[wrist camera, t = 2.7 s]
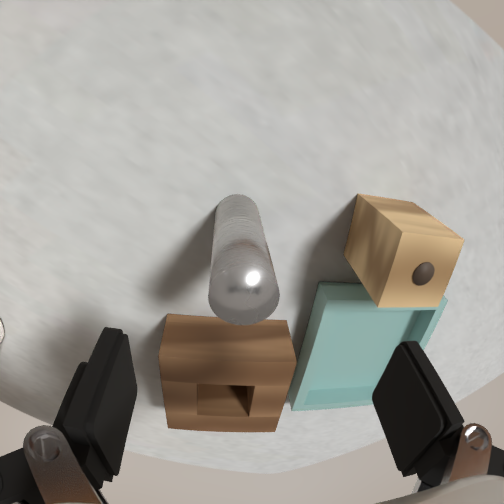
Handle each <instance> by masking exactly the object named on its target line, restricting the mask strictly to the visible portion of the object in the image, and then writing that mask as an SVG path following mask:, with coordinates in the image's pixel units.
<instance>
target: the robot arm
mask: <svg viewBox="0 0 504 504" xmlns="http://www.w3.org/2000/svg"><path fill="white" fill-rule="evenodd" d="M136 397H137V384H136V379H135V374H134V368H133V363H132V357H131V352H130V346H129V340H128V335H127V334H123V331H122V330H121V329H115V328H108V327H105V328H104V329H103V331H102V333H101V335H100V338H99V340H98V342H97V344H96V346H95V348H94V350H93V353H92V355H91V357H90V359H89V362H88V363H87V362H81V363H80V364H79V366H78V368H77V370H76V372H75V374H74V376H73V379H72V381H71V383H70V385H69V388H68V390H67V392H66V395H65V397H64V399H63V402H62V404H61V406H60V409H59V411H58V414H57V416H56V419H55V421H54V424H53V426H52V427H51V426H45V425H43V426H38V427H35V428H33V429H31V430H30V431H29V433H27V435H26V437H25V438H24V443H23V448H21V449H18V450H16V451H14V452H11V453H9V454H6V455H4V456H1V457H0V504H109V503H108V502H107V500H106V499H105V497H104V496H103V494H102V492H101V491H100V489H101V488H102V486H103V481H109V482H112V479H113V475H115V476H117V475H118V474H119V470H120V466H121V461H122V456H123V452H124V447H125V443H126V438H127V434H128V430H129V425H130V421H131V417H132V413H133V409H134V405H135V401H136ZM372 401H373V404H374V407H375V409H376V412H377V415H378V417H379V420H380V422H381V425H382V428H383V430H384V433H385V436H386V439H387V441H388V444H389V447H390V449H391V452H392V455H393V458H394V460H395V463H396V466H397V468H398V470H399V471H401V472H402V475H403V477H406V476H410V475H413V474H416V473H417V475H418V480H417V482H416V484H415V487H414V489H413V491H412V494H411V495H407V496H404V497H400V498H396V499H393V500H388V501H384V502H380V503H376V504H504V450H501V449H499V448H497V447H494V446H493V445H492V438H491V435H490V433H489V432H488V430H487V429H486V428H485V427H483V426H481V425H479V424H476V423H470V424H468V425H466V426H465V427H463V425H462V424H463V423H464V419H463V417H462V416H461V414H460V412H459V410H458V408H457V407H456V405H455V403H454V401H453V399H452V398H451V396H450V394H449V392H448V391H447V389H446V387H445V386H444V384H443V382H442V381H441V379H440V377H439V375H438V374H437V372H436V370H435V369H434V367H433V366H432V364H431V362H430V361H429V359H428V357H427V356H426V354H425V353H424V351H423V349H422V348H421V346H420V345H419V343H418V342H417V341H402V342H401V343H400V344H399V345H398V346H396V348H395V350H394V352H393V354H392V356H391V358H390V360H389V362H388V364H387V366H386V368H385V370H384V372H383V374H382V376H381V378H380V380H379V382H378V384H377V386H376V387H375V389H374V391H373V393H372Z"/></svg>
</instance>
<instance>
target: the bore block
mask: <svg viewBox="0 0 504 504" xmlns="http://www.w3.org/2000/svg"><path fill="white" fill-rule="evenodd" d="M158 358H159V367H160V375H161V383H162V391H163V398H164V405H165V412H166V418H167V424H168V428H172V429H183V430H197V431H216V432H275V430H276V427H277V424H278V421H279V418H280V415H281V412H282V409H283V406H284V403H285V400H286V396H287V393H288V390H289V387H290V384H291V380H292V377H293V374H294V370H295V367H296V363H297V361H296V357H295V352H294V348H293V344H292V340H291V336H290V332H289V328H288V324H287V320H263V321H260V322H258V323H255V324H251V325H235V324H231V323H228V322H226V321H224V320H222V319H220V318H219V317H204V316H190V315H177V314H167V318H166V323H165V327H164V332H163V336H162V341H161V345H160V350H159V355H158Z"/></svg>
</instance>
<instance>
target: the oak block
mask: <svg viewBox="0 0 504 504" xmlns="http://www.w3.org/2000/svg"><path fill="white" fill-rule="evenodd" d="M463 243H464V239H463V238H461V237H460V236H459V235H458V234H456V233H455V232H454V231H452V230H451V229H450V228H448V227H447V226H445V225H444V224H443V223H441V222H440V221H439V220H437V219H436V218H434V217H433V216H432V215H430V214H429V213H427V212H426V211H425V210H423V209H422V208H420V207H419V206H417V205H416V204H414V203H413V202H408V201H402V200H396V199H390V198H384V197H377V196H371V195H364V194H358V195H357V200H356V204H355V209H354V213H353V217H352V222H351V226H350V230H349V234H348V238H347V242H346V247H345V250H344V254H343V255H344V256H345V258H346V259H347V261H348V262H349V264H350V265H351V267H352V268H353V270H354V271H355V273H356V275H357V276H358V278H359V279H360V281H361V282H362V284H363V285H364V287H365V288H366V290H367V292H368V293H369V295H370V296H371V298H372V299H373V301H374V303H375V304H376V306H377V307H378V308H390V307H438V306H439V304H440V301H441V299H442V297H443V294H444V292H445V290H446V287H447V285H448V283H449V280H450V278H451V275H452V273H453V270H454V267H455V265H456V262H457V259H458V257H459V254H460V251H461V248H462V246H463Z"/></svg>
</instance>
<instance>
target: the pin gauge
mask: <svg viewBox="0 0 504 504" xmlns="http://www.w3.org/2000/svg"><path fill="white" fill-rule="evenodd" d="M279 297H280V294H279V288H278V284H277V280H276V276H275V272H274V269H273V265H272V261H271V257H270V253H269V249H268V245H267V242H266V238H265V234H264V230H263V226H262V223H261V219H260V215H259V211H258V208H257V206H256V204H255V202H254V201H253V200H252V199H250V198H249V197H247V196H244V195H240V194H235V195H230V196H228V197H226V198H224V199H223V200H222V201H221V202H220V203H219V205H218V206H217V209H216V214H215V224H214V235H213V246H212V258H211V269H210V282H209V295H208V298H209V304H210V307H211V309H212V311H213V312H214V313H215V314H216V315H217V316H218V317H219V318H220V319H222V320H224V321H226V322H228V323H231V324H235V325H251V324H255V323H258V322H260V321H263V320H264V319H266V318H267V317H269V316H270V315H271V314H272V313H273V312H274V310H275V309H276V307H277V305H278V302H279Z"/></svg>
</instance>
